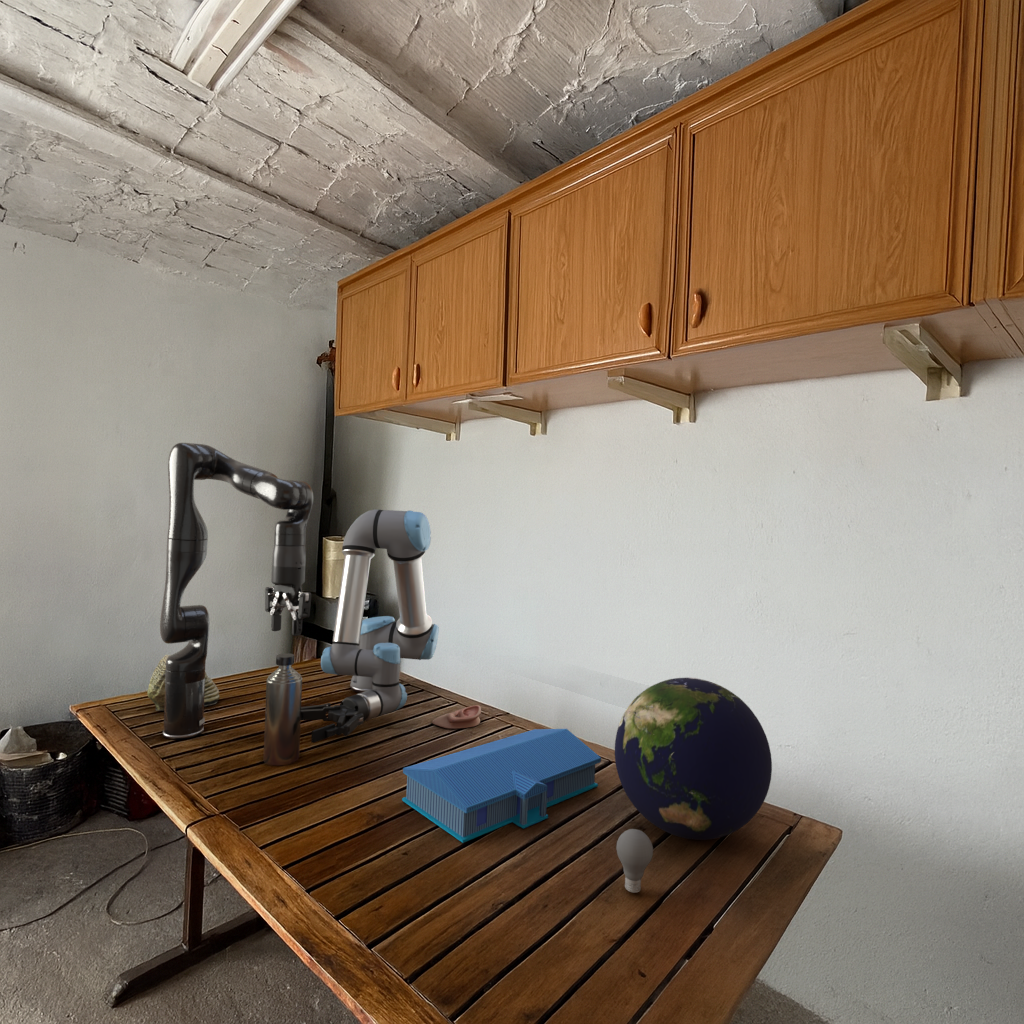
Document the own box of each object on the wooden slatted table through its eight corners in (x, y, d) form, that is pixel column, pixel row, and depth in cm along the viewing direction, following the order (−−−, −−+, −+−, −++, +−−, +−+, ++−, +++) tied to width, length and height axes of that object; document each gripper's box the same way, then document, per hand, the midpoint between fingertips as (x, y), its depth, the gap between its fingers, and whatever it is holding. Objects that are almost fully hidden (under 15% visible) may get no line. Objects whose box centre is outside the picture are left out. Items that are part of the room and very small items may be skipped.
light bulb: (610, 879, 108) (613, 822, 108) (644, 879, 109) (647, 822, 109) (619, 902, 102) (622, 840, 102) (655, 901, 103) (658, 840, 103)
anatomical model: (428, 712, 177) (441, 699, 188) (427, 726, 177) (440, 713, 188) (474, 717, 174) (484, 704, 186) (473, 731, 174) (484, 718, 186)
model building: (473, 850, 116) (475, 796, 115) (400, 799, 134) (402, 752, 134) (609, 791, 142) (611, 746, 142) (533, 755, 160) (535, 716, 160)
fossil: (144, 707, 182) (145, 655, 182) (212, 696, 194) (213, 647, 194) (151, 716, 175) (153, 662, 175) (221, 703, 188) (223, 653, 188)
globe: (594, 848, 118) (602, 688, 118) (628, 784, 146) (634, 654, 145) (767, 892, 107) (776, 715, 106) (767, 813, 134) (775, 673, 134)
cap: (276, 661, 153) (277, 653, 153) (294, 661, 154) (294, 653, 154) (275, 666, 149) (275, 657, 149) (293, 665, 150) (293, 657, 150)
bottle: (265, 753, 155) (269, 653, 154) (300, 750, 157) (303, 652, 156) (261, 766, 147) (265, 661, 147) (298, 764, 149) (302, 660, 149)
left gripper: (255, 562, 152) (253, 631, 152) (296, 567, 144) (293, 640, 144) (282, 560, 158) (279, 626, 158) (321, 565, 151) (319, 635, 151)
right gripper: (392, 732, 164) (328, 758, 147) (327, 711, 178) (261, 733, 160) (393, 704, 164) (329, 726, 147) (329, 685, 178) (262, 703, 160)
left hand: (286, 632), depth 151 cm, fingers open, 6 cm apart
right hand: (293, 730), depth 153 cm, fingers open, 13 cm apart
